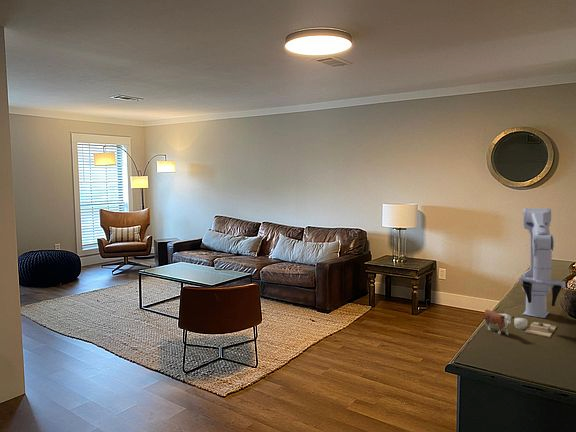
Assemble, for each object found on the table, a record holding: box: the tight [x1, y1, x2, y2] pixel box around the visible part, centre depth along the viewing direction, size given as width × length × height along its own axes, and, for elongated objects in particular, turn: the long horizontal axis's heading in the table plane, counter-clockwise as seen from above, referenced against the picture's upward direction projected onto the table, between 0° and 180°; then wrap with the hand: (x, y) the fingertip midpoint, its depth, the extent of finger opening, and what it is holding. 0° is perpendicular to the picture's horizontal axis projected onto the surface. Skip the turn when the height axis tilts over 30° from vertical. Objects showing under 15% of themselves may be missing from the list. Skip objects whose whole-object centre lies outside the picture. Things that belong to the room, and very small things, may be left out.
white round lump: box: [513, 317, 528, 330], centre depth 166 cm, size 4×4×3 cm
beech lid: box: [530, 321, 552, 332], centre depth 162 cm, size 6×6×2 cm
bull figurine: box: [483, 309, 515, 336], centre depth 160 cm, size 4×13×8 cm, turn 15°
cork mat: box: [524, 321, 558, 339], centre depth 162 cm, size 14×8×1 cm, turn 140°
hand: (541, 303), depth 162 cm, fingers open, 7 cm apart
